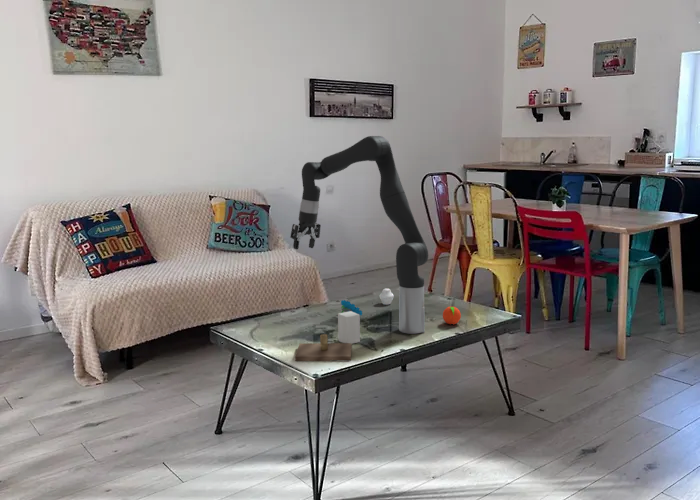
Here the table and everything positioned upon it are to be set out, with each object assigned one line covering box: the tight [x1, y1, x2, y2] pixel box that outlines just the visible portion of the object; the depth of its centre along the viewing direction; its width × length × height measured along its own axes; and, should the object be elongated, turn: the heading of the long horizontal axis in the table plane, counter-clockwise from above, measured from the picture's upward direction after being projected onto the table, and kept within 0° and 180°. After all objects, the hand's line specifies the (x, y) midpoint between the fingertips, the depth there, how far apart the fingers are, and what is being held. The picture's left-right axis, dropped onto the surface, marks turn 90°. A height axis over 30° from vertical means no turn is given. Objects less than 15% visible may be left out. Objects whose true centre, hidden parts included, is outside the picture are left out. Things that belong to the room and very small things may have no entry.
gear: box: [340, 299, 363, 316], centre depth 247 cm, size 11×6×10 cm
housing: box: [337, 311, 361, 345], centre depth 217 cm, size 6×6×10 cm
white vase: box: [379, 288, 395, 306], centre depth 266 cm, size 6×6×7 cm
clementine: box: [442, 305, 462, 325], centre depth 235 cm, size 8×7×7 cm
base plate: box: [294, 333, 353, 362], centre depth 205 cm, size 18×13×6 cm
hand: (303, 248), depth 257 cm, fingers open, 8 cm apart
